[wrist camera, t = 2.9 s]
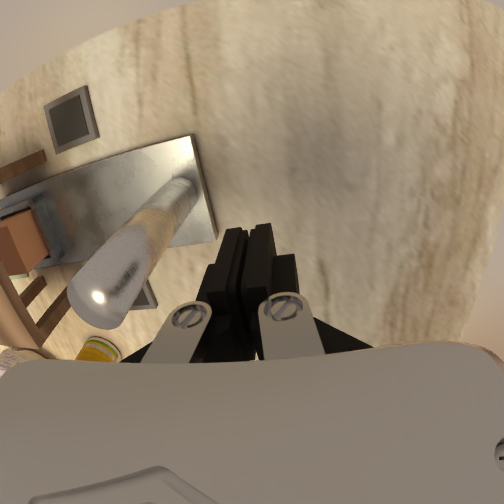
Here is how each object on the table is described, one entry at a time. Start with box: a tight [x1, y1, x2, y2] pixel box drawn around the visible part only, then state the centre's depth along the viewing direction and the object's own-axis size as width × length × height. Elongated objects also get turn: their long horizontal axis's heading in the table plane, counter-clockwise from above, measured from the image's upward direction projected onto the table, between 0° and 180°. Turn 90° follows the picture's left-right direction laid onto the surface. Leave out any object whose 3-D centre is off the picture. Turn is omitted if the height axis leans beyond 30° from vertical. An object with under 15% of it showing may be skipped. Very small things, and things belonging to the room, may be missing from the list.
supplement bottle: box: [75, 337, 121, 363], centre depth 33 cm, size 5×5×10 cm
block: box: [0, 207, 49, 276], centre depth 26 cm, size 5×5×5 cm
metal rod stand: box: [0, 134, 218, 330], centre depth 21 cm, size 24×9×15 cm, turn 101°
